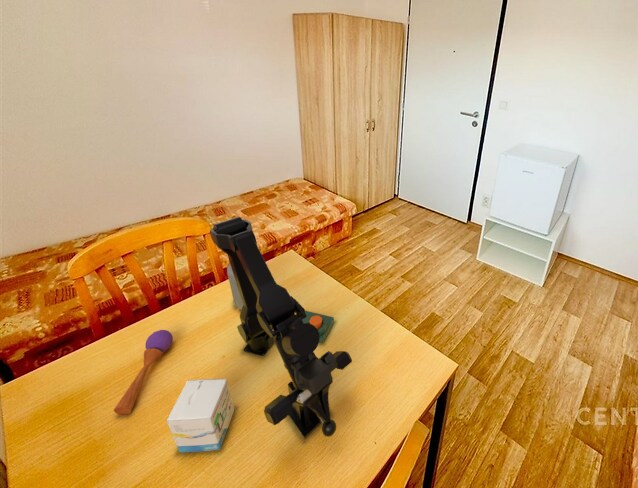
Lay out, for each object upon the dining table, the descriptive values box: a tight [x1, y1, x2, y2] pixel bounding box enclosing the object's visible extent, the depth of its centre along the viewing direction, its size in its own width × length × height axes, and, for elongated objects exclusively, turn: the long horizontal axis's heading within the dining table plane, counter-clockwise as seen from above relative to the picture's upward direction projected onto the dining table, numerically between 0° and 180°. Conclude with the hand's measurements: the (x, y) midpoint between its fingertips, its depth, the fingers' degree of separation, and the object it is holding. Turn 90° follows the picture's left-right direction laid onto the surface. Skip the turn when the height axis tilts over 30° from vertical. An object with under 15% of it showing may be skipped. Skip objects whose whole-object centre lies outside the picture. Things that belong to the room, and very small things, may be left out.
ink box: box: [166, 378, 235, 454], centre depth 69 cm, size 8×8×12 cm
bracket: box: [287, 380, 323, 440], centre depth 74 cm, size 10×7×11 cm
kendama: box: [113, 329, 174, 415], centre depth 80 cm, size 6×6×20 cm
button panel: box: [302, 310, 335, 344], centre depth 96 cm, size 10×8×4 cm
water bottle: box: [226, 241, 258, 311], centre depth 99 cm, size 10×10×28 cm
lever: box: [302, 388, 337, 438], centre depth 70 cm, size 13×3×3 cm, turn 48°
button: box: [309, 315, 322, 329], centre depth 94 cm, size 4×4×2 cm
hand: (328, 421), depth 67 cm, fingers closed
